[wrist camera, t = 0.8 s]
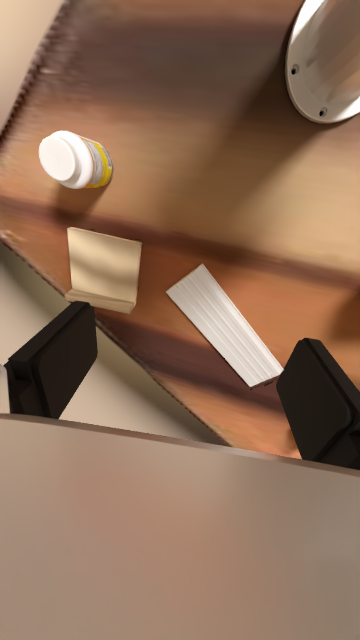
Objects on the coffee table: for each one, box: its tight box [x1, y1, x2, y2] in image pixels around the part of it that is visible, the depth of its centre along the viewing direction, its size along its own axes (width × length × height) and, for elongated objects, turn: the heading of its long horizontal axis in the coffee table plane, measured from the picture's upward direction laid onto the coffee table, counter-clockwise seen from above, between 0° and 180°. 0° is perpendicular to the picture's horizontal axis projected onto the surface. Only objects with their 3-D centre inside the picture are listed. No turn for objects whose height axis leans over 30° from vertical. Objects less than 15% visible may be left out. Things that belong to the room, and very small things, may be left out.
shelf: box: [65, 227, 143, 314], centre depth 37 cm, size 11×11×7 cm
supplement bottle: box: [39, 131, 113, 189], centre depth 28 cm, size 6×6×10 cm
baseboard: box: [166, 263, 284, 390], centre depth 44 cm, size 30×3×10 cm
